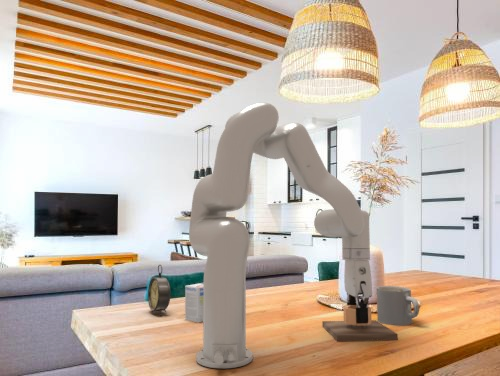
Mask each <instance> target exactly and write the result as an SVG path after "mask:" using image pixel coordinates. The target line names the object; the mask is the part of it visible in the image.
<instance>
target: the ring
mask: <svg viewBox="0 0 500 376" xmlns="http://www.w3.org/2000/svg"><path fill="white" fill-rule="evenodd" d="M356 308H357V305H347V304H346V305H344V306H343V321H344V322H345V323H346V324H351V325H357V326H359V325H369V324H371V323H372V320H373V319H372V307H370V306H368V323H356Z"/></svg>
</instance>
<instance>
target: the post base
mask: <svg viewBox="0 0 500 376" xmlns="http://www.w3.org/2000/svg"><path fill="white" fill-rule="evenodd" d="M321 326H322V328H323V329H324V330H325V331H326V332H327V333H328V334H329V335H330V336H331V337H332V338H333V339H334V340H335V341H337V342H367V341H368V342H369V341H370V342H371V341H374V342H375V341H398V338H399V335H398V333H397V332H395V331H394V330H393V329H390V328H389V327H387V326H386V325H385V324H383V323H380V322H378V320H374V319H372V323H371V324H369V325H359V326H357V325H351V324H346V323H345V322H344V320H327V321H326V320H325V321H324V320H323V321H322V325H321Z"/></svg>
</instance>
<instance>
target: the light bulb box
mask: <svg viewBox="0 0 500 376" xmlns="http://www.w3.org/2000/svg"><path fill="white" fill-rule="evenodd" d="M203 284H204V282H201V283H199V282H198V283H195V284H194V283H193V284H190V285H189V284H187V285H185V288H184V289H185V291H184V293H185V294H184V295H185V298H184V300H185V301H184V303H185V304H184V305H185V307H184V312H185V313H184V317H185V318H184V320H185V321H189V322H194V323H199V324H200V323H202V322H203V302H204V289H203Z"/></svg>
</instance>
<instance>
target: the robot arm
mask: <svg viewBox="0 0 500 376" xmlns="http://www.w3.org/2000/svg"><path fill="white" fill-rule="evenodd" d="M279 117H280V116H279V112H278V109H277V108H276V106H275V105H273V104H271V103H268V102H257V103H253V104H251V105H248V106H247V107H244V108H243V109H242V110H241V111H239V112H235V114H233V115H232V116H230V117H229V118H228V119H227V121H226V122H225V125H224V129H223V131H222V133H221V135H220V138H219V140H218V143H217V147H216V152H215V159H214V165H213V170H212V173H211V174H207V175H205V176H204V177H202V178H201V179H200V180H199V181H198V182H197V184H196V186H195V188H194V191H193V195H192V202H191V209H190V210H191V211H190V218H189V219H190V220H189V229H188V239H189V240H188V241H189V243H190V246H191V248H192V249H193V251H194V252H196V254H198V255H200V256H203V257H207V259H206V262H205V266H204V270H203V271H204V272H203V283H204V284H203V289H204V302H203V326H202V327H203V329H202V331H203V332H202V336H203V337H202V340H203V341H202V349H200V350H198V352H197V353H196V354H195V360H196V363H198V364H199V365H200V366H203V367H206V368H211V369H234V368H239V367H242V366H243V367H244V366H245V365H248V364H250V363H251V362H253V358H254V356H253V355H254V354H253V352H252V351H251V350H250V349H248V348H246V347H247V346H246V345H247V343H246V342H247V341H246V339H247V334H246V333H247V328H246V325H247V321H246V319H247V317H246V316H247V310H246V309H247V304H246V303H247V301H246V300H247V297H246V296H247V293H246V292H247V290H246V285H247V284H246V278H247V276H246V275H247V262H248V257H249V256H248V255H249V249H250V241H251V240H250V239H251V238H250V234H249V231H248V228H247V226H246V225H245V224H244V223H243V222H242V221H240V220H239V219H238V218H237V219H236V218H234V217H231V216H227V213H228V212H234V211H238V210H241V209H242V208H243V207H244V206H245V205H246V203H247V201H248V197H249V189H250V188H249V187H250V177H251V168H252V160H253V154H255V155H259V156H261V157H263V158H267V159H270V160H279V159H284V161H285V163H286V165H287V166H288V169H289V170H290V172H291V174H292V176H293V178H294V180H295V182H296V184H297V185H298V187H299V188H301V189H302V190H305V191H306V192H308V193H312V194H313V195H316V196H318V197H320V198H321V199H323V200H324V201H326V202H327V203H328V204H329V205H330V206H331V207H332V209H324V210H322V211H320V212H319V213H317V214H316V215H315V217H314V221H313V225H314V228H315V231H316V232H317V233H318V234H320V235H322V236H324V237H330V238H341V245H342V246H341V248H342V249H341V250H342V251H341V252H342V253H341V254H342V255H341V256H342V260H343V261H344V277H343V278H344V282H343V283H344V290H345V293H346V306H347V305H357V308H356V323H368V307H369V302H370V301H369V300H370V298H372V297H373V282H372V271H371V265H370V261H371V247H370V246H371V245H370V244H371V241H370V216H369V212H367V211H366V210H362V209H361V207H360V205H359V203H358V201H357V198H356V197H355V195H354V194H353V193H352V191H351V190H350V188H348V187H347V186H346V185H345V184H344V183H343V182H341V181H340V180H339V179H338V178H337V177H336V176H334V175H332V174H331V173H330V172H329V171H328V170H327V168H326V166H325V164H324V162H323V160H322V158H321V156H320V154H319V152H318V150H317V148H316V146H315V144H314V142H313V140H312V138H311V136H310V134H309V132H308V130H307V128H306V127H305V126H304V125H303V124H301V123H299V122H290V123H286V124H283V125H279ZM278 125H279V126H278Z"/></svg>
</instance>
